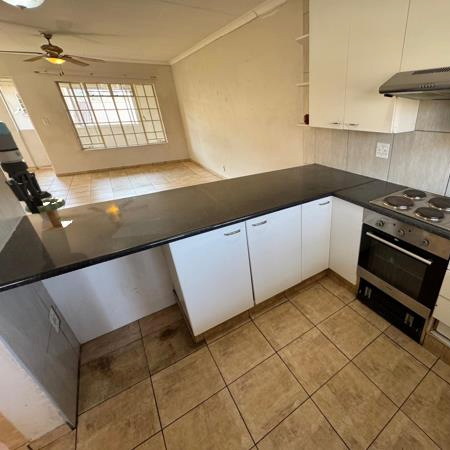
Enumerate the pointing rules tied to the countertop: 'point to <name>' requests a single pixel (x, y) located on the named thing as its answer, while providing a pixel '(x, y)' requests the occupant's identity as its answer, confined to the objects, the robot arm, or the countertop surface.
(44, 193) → the coffee cup
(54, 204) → the hang ring
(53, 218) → the stand
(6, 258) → the countertop surface
